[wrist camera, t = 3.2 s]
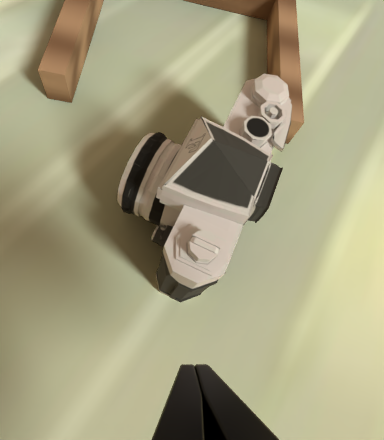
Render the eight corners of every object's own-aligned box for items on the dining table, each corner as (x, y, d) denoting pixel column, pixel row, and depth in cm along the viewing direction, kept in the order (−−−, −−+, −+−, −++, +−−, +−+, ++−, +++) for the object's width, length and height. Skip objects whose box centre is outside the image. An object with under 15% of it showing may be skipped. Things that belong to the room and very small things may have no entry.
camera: (182, 112, 29) (204, 2, 19) (266, 151, 28) (328, 60, 19) (93, 263, 22) (64, 205, 13) (202, 313, 22) (249, 292, 13)
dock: (288, 143, 29) (304, 122, 26) (47, 98, 26) (37, 69, 24) (282, 12, 36) (294, -14, 34) (94, -34, 34) (91, -67, 31)
